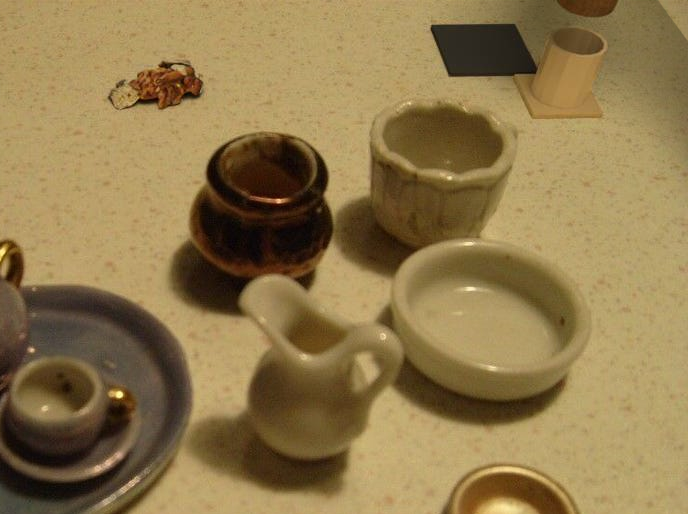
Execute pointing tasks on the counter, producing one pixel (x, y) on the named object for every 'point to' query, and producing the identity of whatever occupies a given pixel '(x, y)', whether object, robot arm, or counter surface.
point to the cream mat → (544, 111)
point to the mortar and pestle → (589, 7)
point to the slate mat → (483, 50)
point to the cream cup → (568, 67)
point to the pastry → (158, 85)
